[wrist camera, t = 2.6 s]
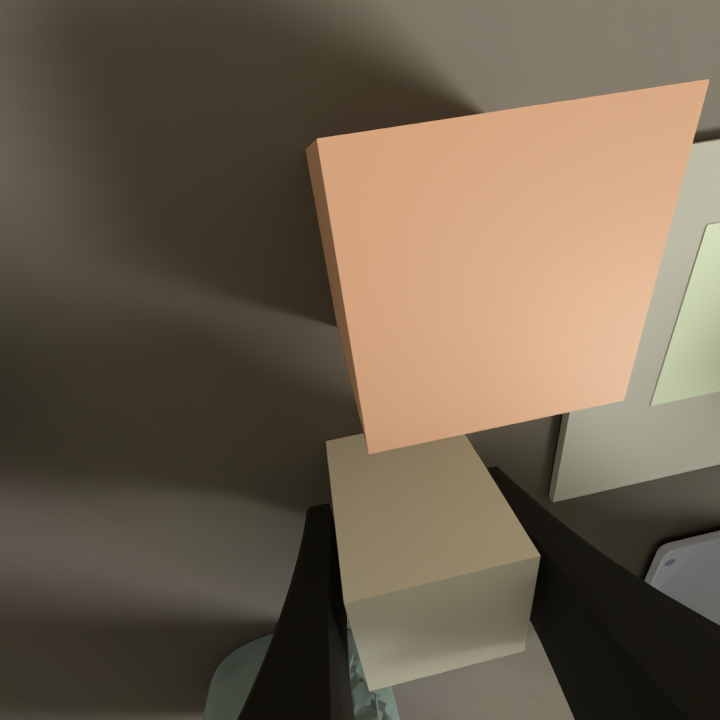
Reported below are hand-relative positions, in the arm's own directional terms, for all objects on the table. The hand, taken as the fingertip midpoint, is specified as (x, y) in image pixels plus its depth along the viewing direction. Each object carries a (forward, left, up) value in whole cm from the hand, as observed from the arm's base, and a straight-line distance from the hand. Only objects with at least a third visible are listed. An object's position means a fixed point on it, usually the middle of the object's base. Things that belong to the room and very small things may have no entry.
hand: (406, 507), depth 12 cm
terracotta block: (+8, -1, -2) cm, 8 cm away
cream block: (0, 0, -2) cm, 2 cm away
